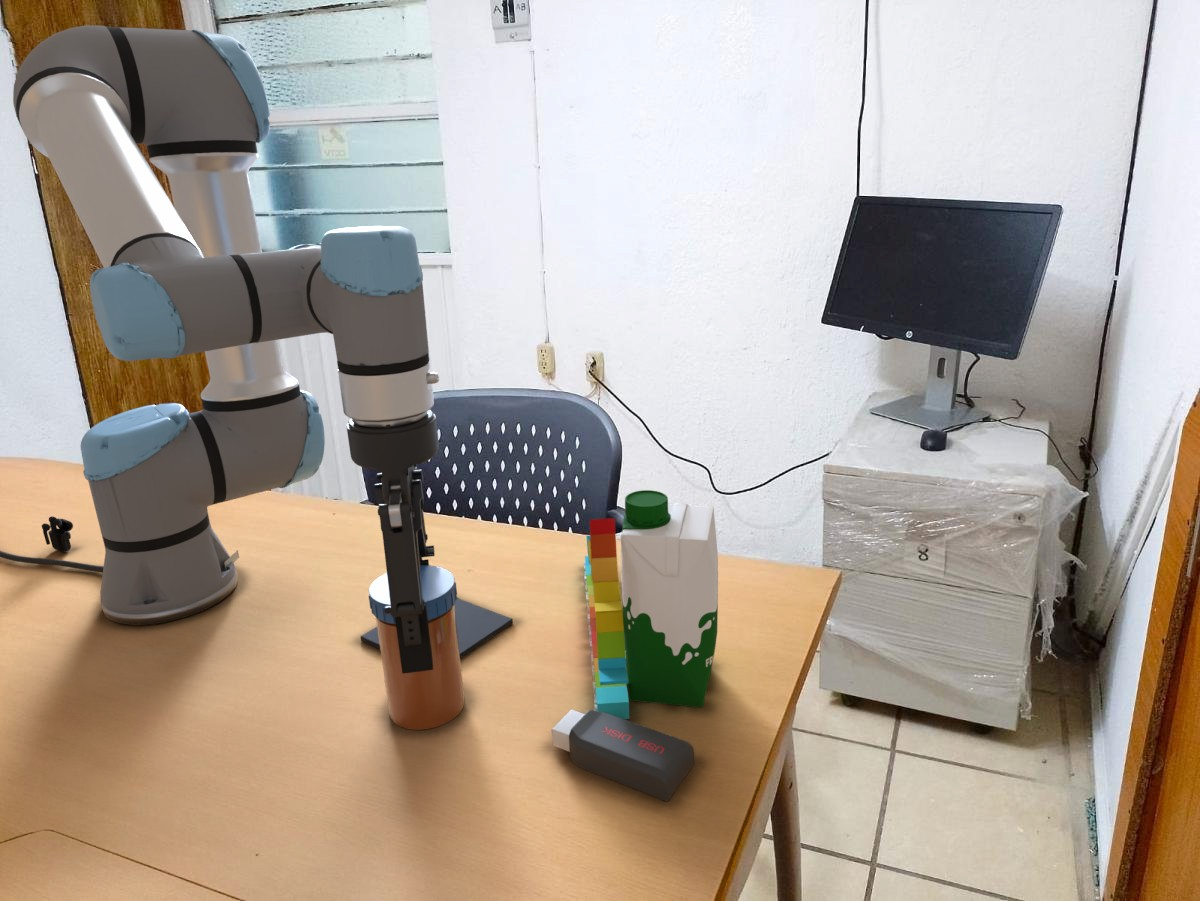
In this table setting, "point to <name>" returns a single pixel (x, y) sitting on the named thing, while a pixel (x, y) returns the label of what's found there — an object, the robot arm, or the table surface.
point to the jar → (424, 677)
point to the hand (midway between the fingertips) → (419, 643)
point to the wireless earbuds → (58, 533)
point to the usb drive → (625, 751)
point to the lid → (435, 593)
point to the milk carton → (668, 598)
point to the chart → (605, 620)
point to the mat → (464, 626)
